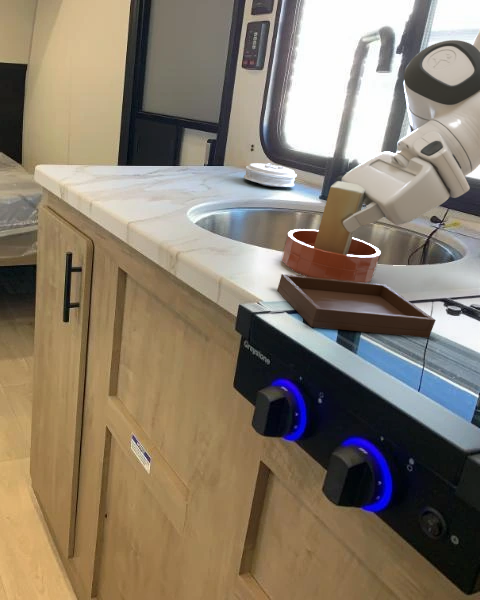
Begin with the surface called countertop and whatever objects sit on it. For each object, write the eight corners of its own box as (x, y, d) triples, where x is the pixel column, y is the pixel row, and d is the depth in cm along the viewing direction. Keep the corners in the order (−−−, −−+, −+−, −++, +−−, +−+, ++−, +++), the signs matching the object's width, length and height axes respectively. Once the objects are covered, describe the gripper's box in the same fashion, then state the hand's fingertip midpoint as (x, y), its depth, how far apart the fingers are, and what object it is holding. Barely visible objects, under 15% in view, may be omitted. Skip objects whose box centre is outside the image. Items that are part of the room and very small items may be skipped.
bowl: (346, 261, 95) (354, 234, 93) (388, 291, 83) (398, 261, 82) (268, 253, 94) (275, 225, 92) (299, 282, 82) (308, 251, 80)
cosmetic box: (315, 258, 92) (337, 179, 87) (344, 266, 90) (368, 185, 85) (306, 268, 87) (329, 184, 82) (337, 276, 85) (363, 191, 80)
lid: (302, 192, 149) (307, 172, 147) (254, 187, 147) (259, 167, 145) (279, 181, 160) (284, 162, 158) (235, 177, 158) (239, 158, 156)
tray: (380, 300, 79) (385, 284, 78) (429, 338, 69) (436, 320, 68) (277, 290, 78) (281, 273, 77) (311, 327, 68) (316, 308, 67)
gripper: (388, 132, 90) (306, 187, 95) (451, 151, 71) (345, 219, 76) (409, 166, 92) (327, 219, 96) (476, 193, 73) (370, 257, 77)
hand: (335, 219), depth 86 cm, fingers closed on cosmetic box, 7 cm apart
